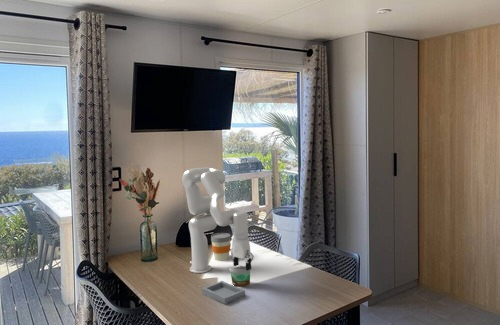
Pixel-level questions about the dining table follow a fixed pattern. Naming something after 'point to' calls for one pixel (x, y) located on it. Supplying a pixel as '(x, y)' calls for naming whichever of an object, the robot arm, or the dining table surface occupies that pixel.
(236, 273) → the food container
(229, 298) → the tray
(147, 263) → the dining table surface
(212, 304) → the dining table surface
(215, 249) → the reusable coffee cup
